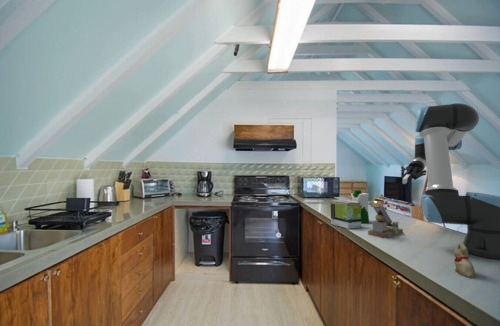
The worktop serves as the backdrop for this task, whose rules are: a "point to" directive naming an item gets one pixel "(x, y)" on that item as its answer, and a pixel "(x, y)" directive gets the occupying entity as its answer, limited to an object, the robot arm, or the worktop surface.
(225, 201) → the worktop surface
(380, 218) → the walnut
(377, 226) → the grey block
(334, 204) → the tea box
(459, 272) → the chocolate bunny
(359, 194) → the milk carton
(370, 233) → the bench
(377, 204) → the lever
